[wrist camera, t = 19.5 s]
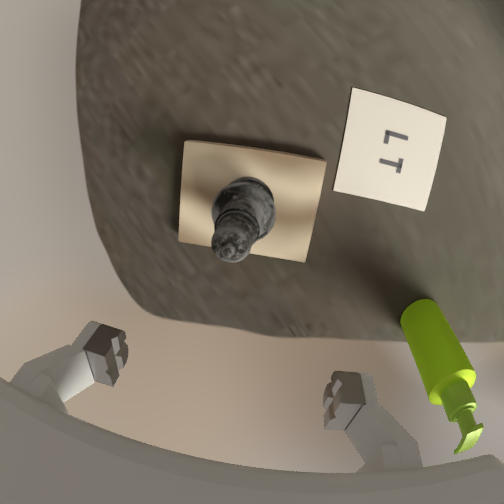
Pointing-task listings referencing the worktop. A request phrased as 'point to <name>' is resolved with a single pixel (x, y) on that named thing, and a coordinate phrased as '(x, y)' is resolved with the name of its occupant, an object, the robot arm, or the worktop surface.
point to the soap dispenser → (442, 366)
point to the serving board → (265, 169)
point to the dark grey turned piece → (241, 217)
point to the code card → (389, 150)
